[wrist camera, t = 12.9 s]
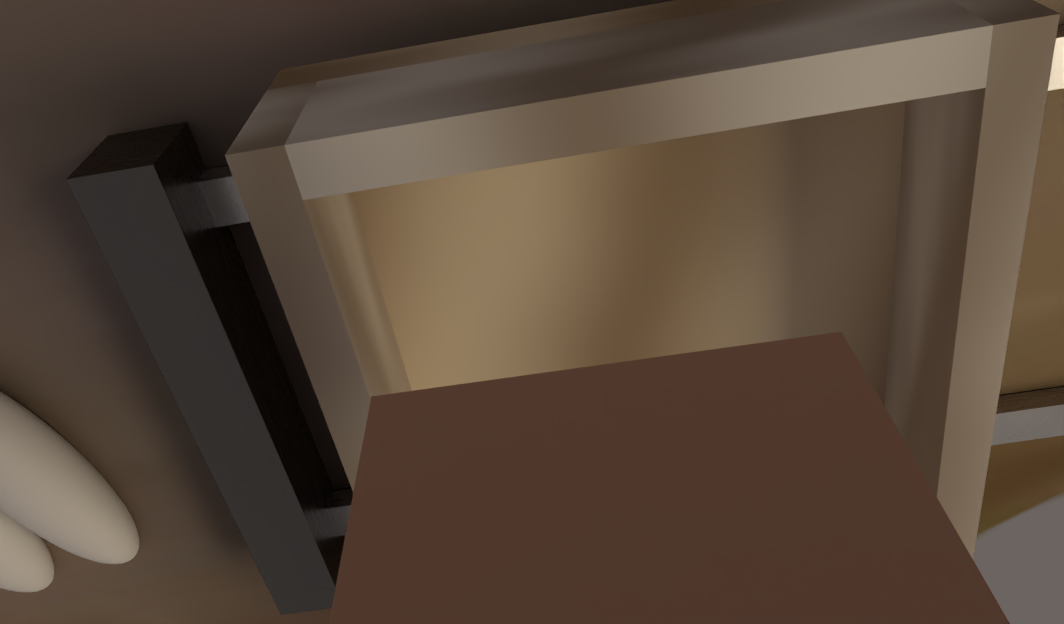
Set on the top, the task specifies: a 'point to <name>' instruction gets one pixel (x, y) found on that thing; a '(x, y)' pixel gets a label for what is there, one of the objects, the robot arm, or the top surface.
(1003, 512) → the top surface
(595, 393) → the block
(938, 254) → the beige open rectangular box
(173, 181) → the framed panel
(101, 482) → the decorative figure
